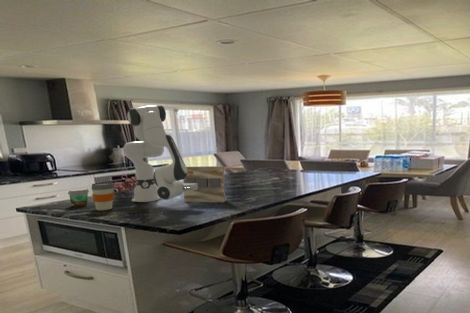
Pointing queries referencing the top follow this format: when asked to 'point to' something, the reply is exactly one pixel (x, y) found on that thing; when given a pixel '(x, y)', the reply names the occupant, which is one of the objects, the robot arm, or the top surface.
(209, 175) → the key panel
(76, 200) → the food container
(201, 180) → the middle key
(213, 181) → the key
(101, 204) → the reusable coffee cup
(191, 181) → the key
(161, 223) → the top surface
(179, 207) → the top surface
